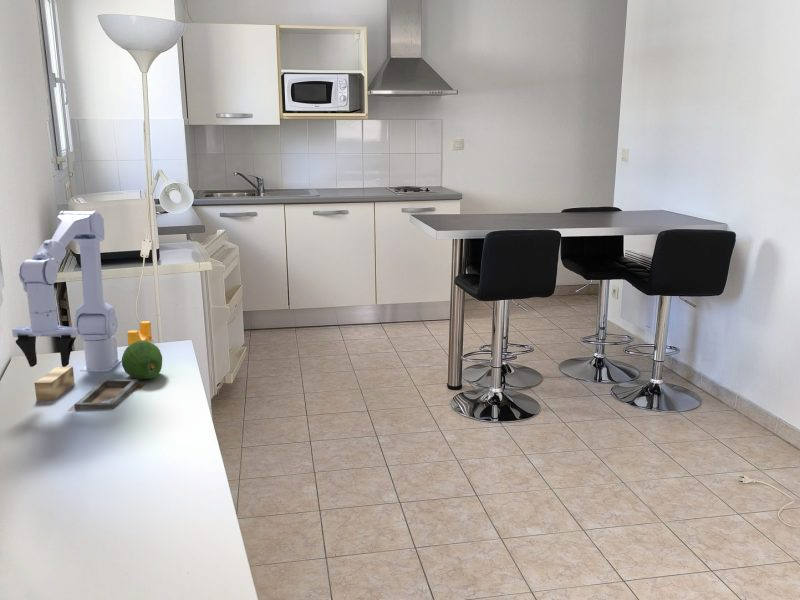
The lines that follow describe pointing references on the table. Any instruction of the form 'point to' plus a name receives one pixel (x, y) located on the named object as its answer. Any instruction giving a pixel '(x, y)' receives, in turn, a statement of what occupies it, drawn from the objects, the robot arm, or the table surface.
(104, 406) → the channel
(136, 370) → the fruit
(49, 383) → the wooden block
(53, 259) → the robot arm
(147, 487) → the table surface
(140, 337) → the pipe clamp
